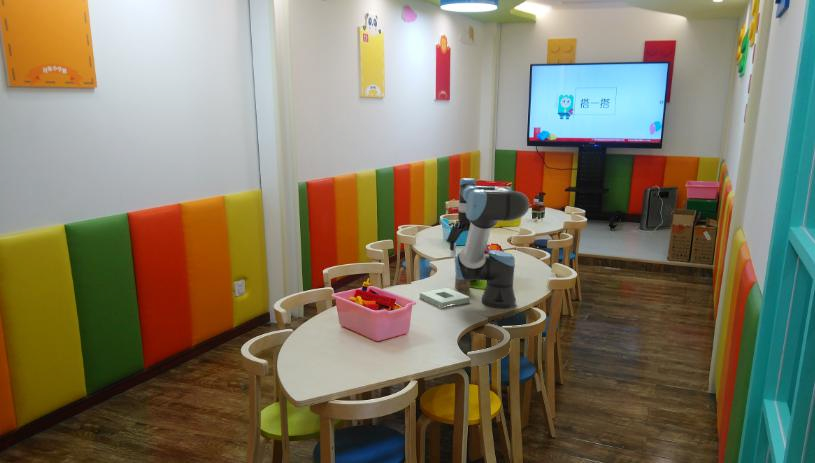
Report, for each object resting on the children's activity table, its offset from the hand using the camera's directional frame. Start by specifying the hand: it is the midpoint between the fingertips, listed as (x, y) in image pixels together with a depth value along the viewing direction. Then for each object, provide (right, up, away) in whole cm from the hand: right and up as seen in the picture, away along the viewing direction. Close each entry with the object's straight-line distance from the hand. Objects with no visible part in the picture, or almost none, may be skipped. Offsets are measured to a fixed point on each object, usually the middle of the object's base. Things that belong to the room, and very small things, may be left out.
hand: (463, 255), depth 275 cm
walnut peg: (-1, -16, +3) cm, 16 cm away
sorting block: (-10, -20, -16) cm, 27 cm away
